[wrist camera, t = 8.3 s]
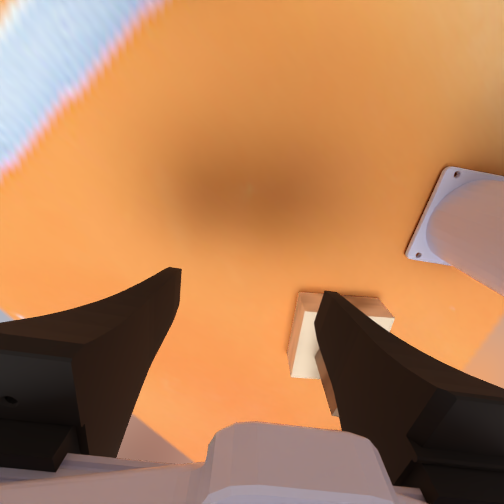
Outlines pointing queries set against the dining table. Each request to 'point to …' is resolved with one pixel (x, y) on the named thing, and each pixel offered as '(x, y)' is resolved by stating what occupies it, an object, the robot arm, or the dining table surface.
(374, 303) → the birch block
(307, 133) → the dining table surface
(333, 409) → the walnut block
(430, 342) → the dining table surface
